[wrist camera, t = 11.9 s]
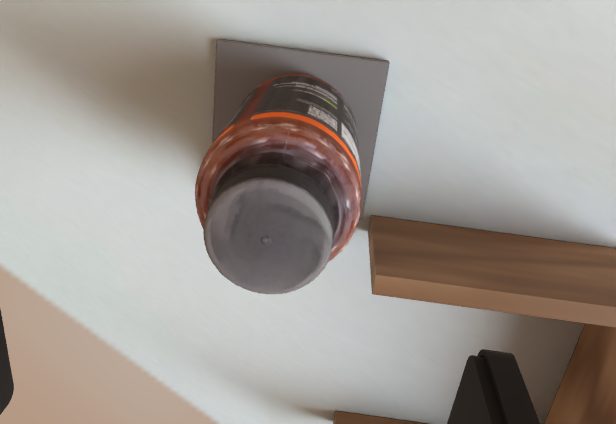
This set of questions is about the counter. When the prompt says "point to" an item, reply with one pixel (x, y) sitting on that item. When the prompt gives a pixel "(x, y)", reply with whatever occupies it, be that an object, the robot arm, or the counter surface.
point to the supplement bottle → (281, 185)
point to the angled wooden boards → (509, 297)
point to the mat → (281, 61)
